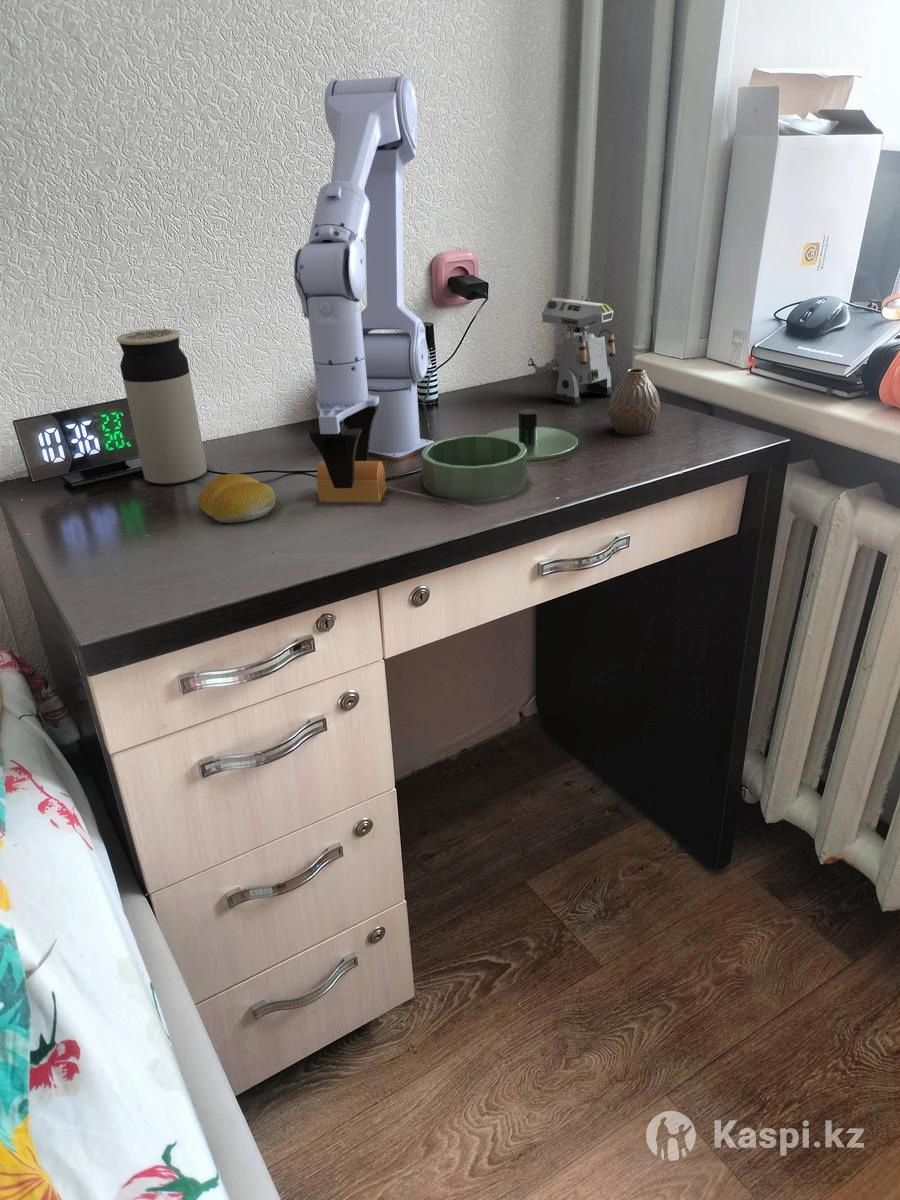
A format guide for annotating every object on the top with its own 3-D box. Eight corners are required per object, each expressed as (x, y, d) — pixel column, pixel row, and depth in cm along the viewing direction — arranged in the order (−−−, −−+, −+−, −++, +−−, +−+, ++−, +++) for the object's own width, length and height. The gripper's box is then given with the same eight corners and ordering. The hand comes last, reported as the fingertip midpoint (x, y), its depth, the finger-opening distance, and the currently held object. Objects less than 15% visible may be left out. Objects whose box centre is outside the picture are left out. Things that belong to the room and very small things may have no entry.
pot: (403, 491, 105) (400, 456, 103) (464, 462, 114) (462, 429, 112) (487, 511, 98) (486, 474, 96) (545, 478, 107) (545, 444, 105)
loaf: (319, 504, 102) (315, 468, 100) (328, 491, 106) (324, 456, 104) (379, 504, 102) (376, 468, 99) (386, 491, 105) (383, 456, 103)
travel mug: (219, 473, 114) (194, 332, 106) (165, 490, 109) (135, 343, 101) (186, 461, 119) (160, 325, 111) (133, 477, 114) (101, 336, 106)
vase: (665, 429, 122) (669, 366, 118) (647, 443, 117) (651, 378, 113) (619, 424, 126) (622, 362, 122) (599, 437, 121) (601, 373, 117)
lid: (458, 454, 116) (456, 417, 114) (513, 429, 126) (513, 394, 123) (543, 471, 109) (544, 432, 107) (595, 443, 118) (597, 406, 116)
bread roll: (227, 531, 96) (221, 497, 95) (191, 510, 103) (185, 478, 101) (291, 510, 101) (287, 477, 99) (253, 491, 107) (248, 460, 105)
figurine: (565, 385, 146) (567, 292, 139) (619, 397, 139) (624, 298, 132) (527, 396, 141) (527, 300, 134) (581, 409, 133) (584, 307, 126)
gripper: (360, 374, 89) (371, 498, 96) (386, 344, 102) (395, 455, 108) (293, 375, 90) (309, 497, 97) (328, 345, 103) (340, 455, 109)
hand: (351, 475), depth 103 cm, fingers open, 7 cm apart
